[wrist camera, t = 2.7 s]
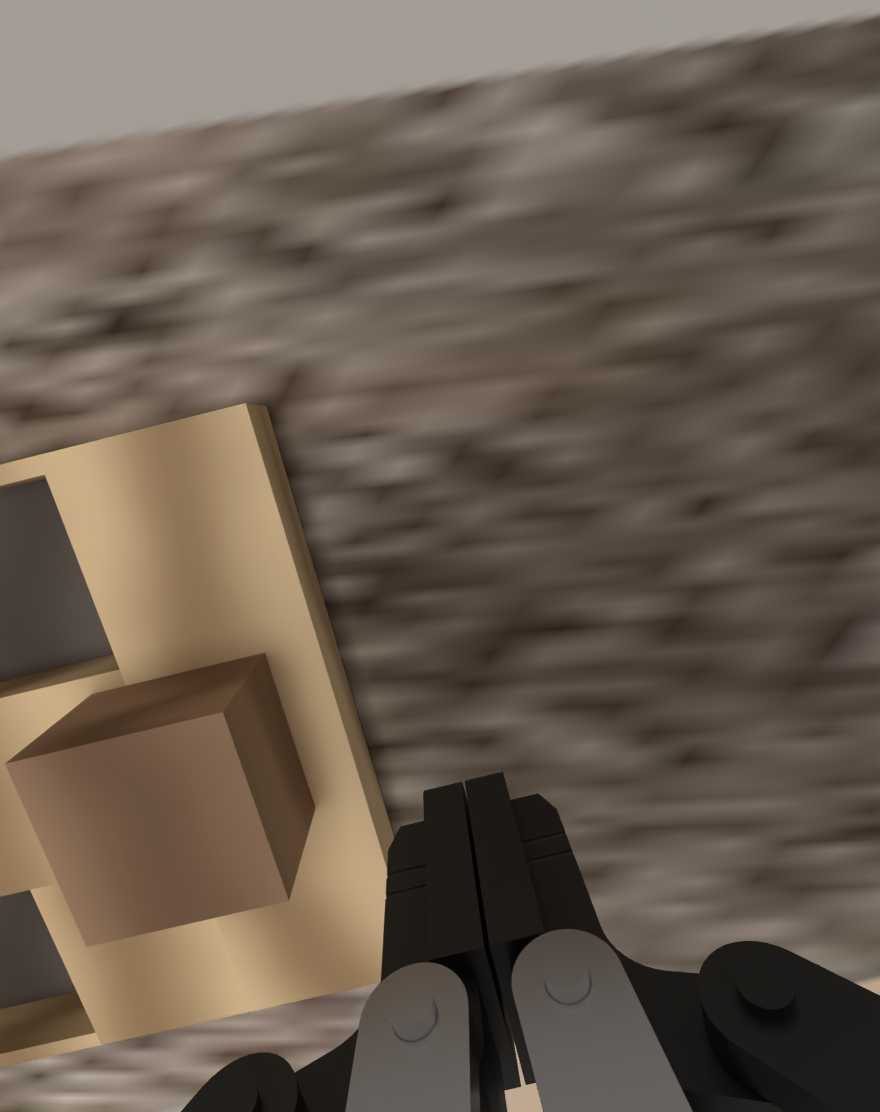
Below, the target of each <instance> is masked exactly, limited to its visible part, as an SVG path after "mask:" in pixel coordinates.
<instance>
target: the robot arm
mask: <svg viewBox="0 0 880 1112" xmlns="http://www.w3.org/2000/svg"><path fill="white" fill-rule="evenodd" d="M465 786H466V792H467V797H466V793H465V789H464V786H463V783H462V782H459V783H454V784H450V785H446V786H442V787H438V788H433V789H429V790H425V791H424V793H423V800H424V821H422V822H418V823H413V824H409V825H405V826H401V827H400V829H399V830H398V832H397V834H396V836H395V838H394V840H393V842H392V843H391V845H390V847H389V849H388V861H387V878H386V899H385V914H384V932H383V950H382V968H381V982H380V984H379V985H378V986H377V987H376V988H375V990H374V991H373V992H372V993H371V995H370V997H369V998H368V1000H367V1002H366V1004H365V1006H364V1009H363V1011H362V1014H361V1018H360V1023H359V1028H358V1029H357V1030H356V1032H355V1033H354V1034H353V1035H352V1036H351V1037H350V1038H348V1039H347V1040H346V1041H345V1042H344V1043H342V1044H341V1045H340V1046H338V1047H337V1048H335V1049H334V1050H332V1051H331V1052H329V1053H327V1054H325V1055H324V1056H322V1057H320V1058H319V1059H317V1060H315V1061H314V1062H312V1063H310V1064H309V1065H307V1066H305V1067H304V1068H302V1069H300V1070H298V1071H297V1072H295V1073H294V1071H293V1069H292V1067H291V1066H290V1064H289V1063H288V1062H287V1061H286V1060H285V1059H284V1058H282V1057H280V1056H278V1055H276V1054H272V1053H255V1054H250V1055H247V1056H244V1057H242V1058H239V1059H237V1060H235V1061H234V1062H232V1063H230V1064H228V1065H227V1066H226V1067H224V1068H223V1069H221V1070H220V1071H219V1072H218V1073H216V1074H215V1075H214V1076H213V1077H212V1078H211V1079H210V1080H209V1081H208V1082H207V1083H206V1084H205V1085H204V1086H203V1087H202V1088H201V1089H200V1090H199V1091H198V1093H197V1094H196V1095H195V1096H194V1097H193V1098H192V1100H191V1101H190V1102H189V1103H188V1104H187V1105H186V1106H185V1108H184V1109H183V1110H182V1111H181V1112H507V1107H506V1100H505V1092H504V1090H509V1089H513V1088H517V1087H521V1084H520V1077H519V1071H518V1065H517V1059H516V1052H515V1046H514V1041H515V1045H516V1049H517V1053H518V1057H519V1060H520V1064H521V1068H522V1072H523V1075H524V1079H525V1083H526V1085H528V1084H532V1083H536V1085H537V1089H538V1093H539V1097H540V1100H541V1104H542V1108H543V1112H880V996H879V995H877V994H875V993H873V992H871V991H869V990H867V989H865V988H863V987H861V986H859V985H857V984H855V983H853V982H851V981H849V980H847V979H845V978H843V977H841V976H839V975H837V974H835V973H833V972H831V971H829V970H827V969H825V968H823V967H821V966H819V965H817V964H815V963H813V962H811V961H809V960H807V959H805V958H803V957H801V956H798V955H796V954H794V953H792V952H790V951H788V950H786V949H783V948H781V947H779V946H775V945H772V944H768V943H763V942H757V941H741V942H734V943H730V944H727V945H724V946H722V947H720V948H718V949H716V950H715V951H714V952H713V953H711V954H710V955H709V956H708V958H707V959H706V960H705V961H704V963H703V965H702V967H701V969H700V973H699V974H697V973H686V972H674V971H664V970H658V969H653V968H650V967H646V966H644V965H641V964H639V963H637V962H634V961H633V960H631V959H629V958H628V957H626V956H624V955H623V954H622V953H621V952H619V951H618V950H617V949H616V948H615V947H614V946H613V945H612V944H611V943H610V942H609V940H608V939H607V937H606V936H605V934H604V932H603V930H602V928H601V926H600V923H599V920H598V918H597V915H596V912H595V910H594V907H593V904H592V902H591V899H590V896H589V894H588V891H587V888H586V886H585V883H584V881H583V878H582V875H581V873H580V870H579V867H578V865H577V862H576V859H575V857H574V854H573V852H572V849H571V846H570V843H569V841H568V838H567V835H566V834H565V830H564V828H563V825H562V822H561V820H560V817H559V814H558V812H557V809H556V808H555V807H553V806H552V805H551V804H550V803H549V802H548V801H546V800H545V799H544V798H543V797H542V796H541V795H539V794H534V795H530V796H526V797H522V798H518V799H513V800H510V797H509V793H508V789H507V786H506V782H505V778H504V774H503V772H500V773H496V774H491V775H487V776H483V777H479V778H475V779H470V780H466V781H465ZM467 799H468V801H467ZM513 1038H514V1040H513Z"/></svg>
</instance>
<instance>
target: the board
mask: <svg viewBox="0 0 880 1112" xmlns="http://www.w3.org/2000/svg"><path fill="white" fill-rule="evenodd" d="M261 653H265V654H266V657H267V660H268V664H269V667H270V670H271V673H272V676H273V679H274V682H275V685H276V688H277V691H278V694H279V697H280V700H281V703H282V706H283V710H284V713H285V716H286V719H287V722H288V725H289V728H290V731H291V734H292V737H293V740H294V743H295V746H296V749H297V753H298V756H299V759H300V762H301V765H302V768H303V771H304V774H305V777H306V780H307V783H308V786H309V789H310V792H311V795H312V799H313V802H314V805H315V808H316V809H315V812H314V816H313V819H312V822H311V826H310V829H309V833H308V836H307V840H306V843H305V847H304V850H303V854H302V857H301V861H300V864H299V868H298V871H297V875H296V878H295V882H294V885H293V889H292V892H291V896H290V899H289V901H287V902H283V903H278V904H274V905H269V906H265V907H261V908H256V909H252V910H247V911H243V912H239V913H234V914H230V915H226V916H221V917H217V918H212V919H208V920H204V921H199V922H195V923H190V924H186V925H182V926H177V927H173V928H168V929H164V930H160V931H155V932H151V933H147V934H142V935H138V936H133V937H129V938H125V939H120V940H116V941H111V942H107V943H103V944H98V945H94V946H90V947H86V945H85V942H84V940H83V938H82V936H81V933H80V931H79V929H78V927H77V924H76V922H75V920H74V918H73V916H72V913H71V911H70V909H69V907H68V904H67V902H66V900H65V898H64V895H63V893H62V891H61V889H60V886H59V884H58V882H57V880H56V877H55V875H54V873H53V871H52V869H51V866H50V864H49V862H48V860H47V857H46V855H45V853H44V851H43V848H42V846H41V844H40V842H39V839H38V837H37V835H36V833H35V830H34V828H33V826H32V824H31V822H30V819H29V817H28V815H27V813H26V810H25V808H24V806H23V804H22V801H21V799H20V797H19V795H18V792H17V790H16V788H15V786H14V784H13V781H12V779H11V777H10V775H9V772H8V770H7V768H6V766H5V763H6V762H8V761H9V760H10V759H11V758H13V757H14V756H15V755H16V754H18V753H19V752H20V751H21V750H23V749H24V748H25V747H26V746H28V745H29V744H30V743H31V742H33V741H34V740H35V739H36V738H37V737H39V736H40V735H41V734H42V733H44V732H45V731H46V730H47V729H49V728H50V727H51V726H52V725H54V724H55V723H56V722H57V721H59V720H60V719H61V718H62V717H64V716H65V715H66V714H67V713H69V712H70V711H71V710H72V709H74V708H75V707H76V706H77V705H79V704H80V703H81V702H82V701H84V700H85V699H86V698H87V697H89V696H90V695H91V694H94V693H98V692H102V691H107V690H111V689H115V688H119V687H123V686H127V685H132V684H136V683H140V682H144V681H148V680H152V679H157V678H161V677H165V676H169V675H173V674H178V673H182V672H186V671H190V670H194V669H198V668H203V667H207V666H211V665H215V664H219V663H223V662H228V661H232V660H236V659H240V658H244V657H248V656H253V655H257V654H261ZM393 840H394V835H393V832H392V828H391V825H390V821H389V818H388V815H387V811H386V808H385V805H384V801H383V798H382V794H381V791H380V788H379V784H378V781H377V778H376V774H375V771H374V768H373V764H372V761H371V757H370V754H369V751H368V747H367V744H366V741H365V737H364V734H363V730H362V727H361V724H360V720H359V717H358V714H357V710H356V707H355V703H354V700H353V697H352V693H351V690H350V687H349V683H348V680H347V677H346V673H345V670H344V666H343V663H342V660H341V656H340V653H339V650H338V646H337V643H336V639H335V636H334V633H333V629H332V626H331V623H330V619H329V616H328V612H327V609H326V606H325V602H324V599H323V596H322V592H321V589H320V586H319V582H318V579H317V575H316V572H315V569H314V565H313V562H312V559H311V555H310V552H309V548H308V545H307V542H306V538H305V535H304V532H303V528H302V525H301V521H300V518H299V515H298V511H297V508H296V505H295V501H294V498H293V495H292V491H291V488H290V484H289V481H288V478H287V474H286V471H285V468H284V464H283V461H282V457H281V454H280V451H279V447H278V444H277V441H276V437H275V434H274V430H273V427H272V424H271V420H270V417H269V414H268V410H267V407H266V406H263V405H256V404H248V403H244V404H240V405H236V406H232V407H228V408H224V409H220V410H216V411H212V412H208V413H204V414H200V415H196V416H192V417H188V418H184V419H180V420H176V421H172V422H168V423H164V424H160V425H156V426H152V427H148V428H144V429H140V430H136V431H132V432H128V433H124V434H120V435H117V436H113V437H109V438H105V439H101V440H97V441H93V442H89V443H85V444H81V445H77V446H73V447H69V448H65V449H61V450H57V451H53V452H49V453H45V454H41V455H37V456H33V457H29V458H25V459H21V460H17V461H13V462H9V463H5V464H1V465H0V1067H4V1066H9V1065H13V1064H18V1063H22V1062H27V1061H31V1060H36V1059H40V1058H44V1057H49V1056H53V1055H58V1054H62V1053H67V1052H71V1051H76V1050H80V1049H85V1048H89V1047H94V1046H98V1045H103V1044H107V1043H112V1042H116V1041H121V1040H125V1039H130V1038H134V1037H139V1036H143V1035H147V1034H152V1033H156V1032H161V1031H165V1030H170V1029H174V1028H179V1027H183V1026H188V1025H192V1024H197V1023H201V1022H206V1021H210V1020H215V1019H219V1018H224V1017H228V1016H233V1015H237V1014H241V1013H246V1012H250V1011H255V1010H259V1009H264V1008H268V1007H273V1006H277V1005H282V1004H286V1003H291V1002H295V1001H300V1000H304V999H309V998H313V997H318V996H322V995H327V994H331V993H336V992H340V991H344V990H349V989H353V988H358V987H362V986H367V985H371V984H376V983H380V982H381V968H382V950H383V932H384V914H385V899H386V878H387V861H388V849H389V847H390V845H391V843H392V842H393Z"/></svg>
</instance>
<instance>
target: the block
mask: <svg viewBox="0 0 880 1112" xmlns="http://www.w3.org/2000/svg"><path fill="white" fill-rule="evenodd" d="M5 766H6V768H7V770H8V772H9V775H10V777H11V779H12V781H13V784H14V786H15V788H16V790H17V792H18V795H19V797H20V799H21V801H22V804H23V806H24V808H25V810H26V813H27V815H28V817H29V819H30V822H31V824H32V826H33V828H34V830H35V833H36V835H37V837H38V839H39V842H40V844H41V846H42V848H43V851H44V853H45V855H46V857H47V860H48V862H49V864H50V866H51V869H52V871H53V873H54V875H55V877H56V880H57V882H58V884H59V886H60V889H61V891H62V893H63V895H64V898H65V900H66V902H67V904H68V907H69V909H70V911H71V913H72V916H73V918H74V920H75V922H76V924H77V927H78V929H79V931H80V933H81V936H82V938H83V940H84V942H85V945H86V947H90V946H94V945H98V944H103V943H107V942H111V941H116V940H120V939H125V938H129V937H133V936H138V935H142V934H147V933H151V932H155V931H160V930H164V929H168V928H173V927H177V926H182V925H186V924H190V923H195V922H199V921H204V920H208V919H212V918H217V917H221V916H226V915H230V914H234V913H239V912H243V911H247V910H252V909H256V908H261V907H265V906H269V905H274V904H278V903H283V902H287V901H289V899H290V896H291V892H292V889H293V885H294V882H295V878H296V875H297V871H298V868H299V864H300V861H301V857H302V854H303V850H304V847H305V843H306V840H307V836H308V833H309V829H310V826H311V822H312V819H313V816H314V812H315V809H316V808H315V805H314V802H313V799H312V795H311V792H310V789H309V786H308V783H307V780H306V777H305V774H304V771H303V768H302V765H301V762H300V759H299V756H298V753H297V749H296V746H295V743H294V740H293V737H292V734H291V731H290V728H289V725H288V722H287V719H286V716H285V713H284V710H283V706H282V703H281V700H280V697H279V694H278V691H277V688H276V685H275V682H274V679H273V676H272V673H271V670H270V667H269V664H268V660H267V657H266V654H265V653H261V654H257V655H253V656H248V657H244V658H240V659H236V660H232V661H228V662H223V663H219V664H215V665H211V666H207V667H203V668H198V669H194V670H190V671H186V672H182V673H178V674H173V675H169V676H165V677H161V678H157V679H152V680H148V681H144V682H140V683H136V684H132V685H127V686H123V687H119V688H115V689H111V690H107V691H102V692H98V693H94V694H91V695H90V696H89V697H87V698H86V699H85V700H84V701H82V702H81V703H80V704H79V705H77V706H76V707H75V708H74V709H72V710H71V711H70V712H69V713H67V714H66V715H65V716H64V717H62V718H61V719H60V720H59V721H57V722H56V723H55V724H54V725H52V726H51V727H50V728H49V729H47V730H46V731H45V732H44V733H42V734H41V735H40V736H39V737H37V738H36V739H35V740H34V741H33V742H31V743H30V744H29V745H28V746H26V747H25V748H24V749H23V750H21V751H20V752H19V753H18V754H16V755H15V756H14V757H13V758H11V759H10V760H9V761H8V762H6V763H5Z"/></svg>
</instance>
